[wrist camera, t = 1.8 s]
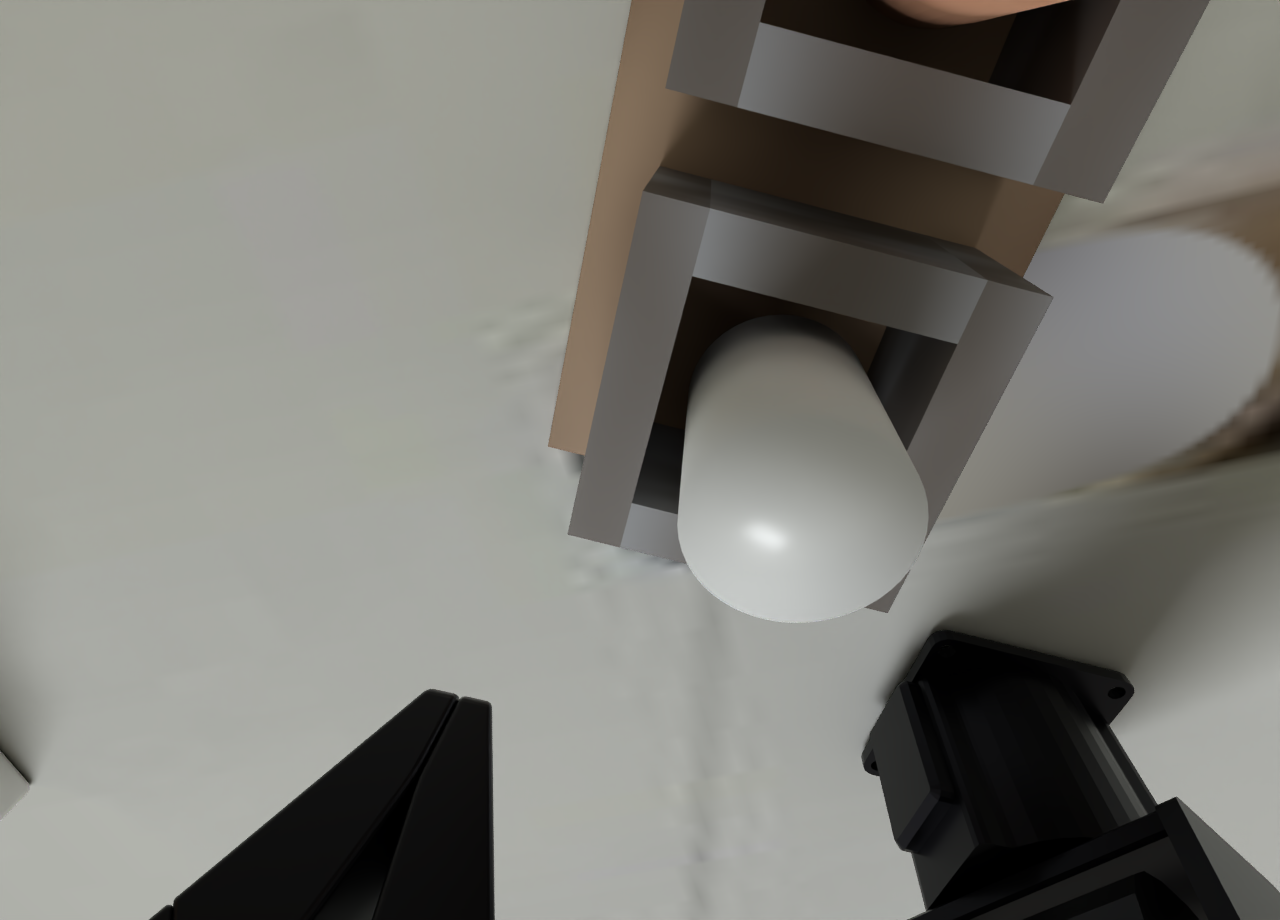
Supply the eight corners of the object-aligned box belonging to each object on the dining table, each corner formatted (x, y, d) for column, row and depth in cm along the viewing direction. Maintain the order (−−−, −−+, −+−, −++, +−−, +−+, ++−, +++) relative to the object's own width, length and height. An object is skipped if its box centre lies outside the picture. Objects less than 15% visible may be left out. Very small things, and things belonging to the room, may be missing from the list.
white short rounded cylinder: (894, 340, 14) (973, 452, 10) (829, 493, 16) (871, 645, 12) (715, 294, 14) (715, 387, 10) (669, 453, 16) (652, 591, 12)
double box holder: (1273, -273, 12) (1583, -471, 8) (889, 517, 20) (937, 636, 16) (718, -430, 12) (719, -727, 8) (553, 433, 20) (508, 531, 16)
